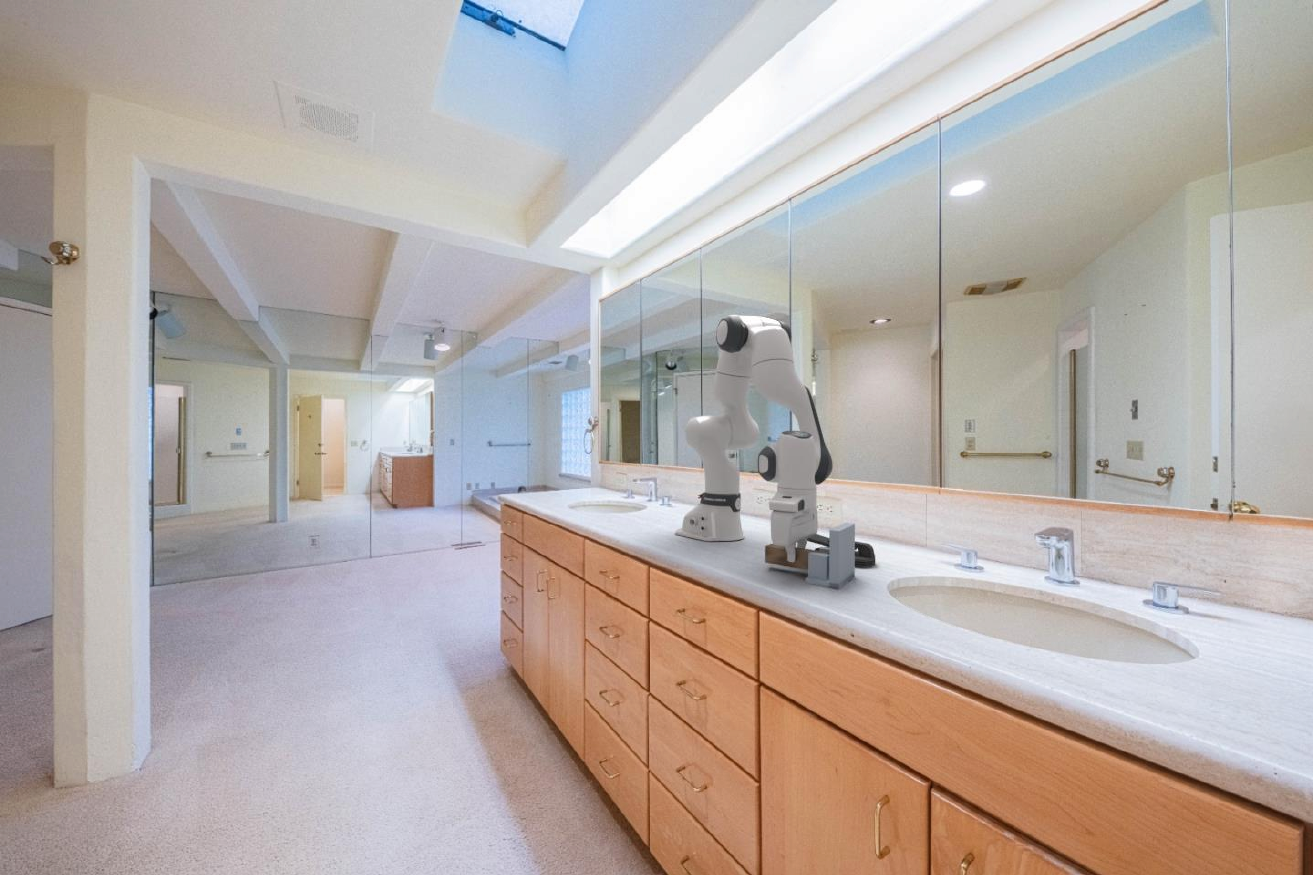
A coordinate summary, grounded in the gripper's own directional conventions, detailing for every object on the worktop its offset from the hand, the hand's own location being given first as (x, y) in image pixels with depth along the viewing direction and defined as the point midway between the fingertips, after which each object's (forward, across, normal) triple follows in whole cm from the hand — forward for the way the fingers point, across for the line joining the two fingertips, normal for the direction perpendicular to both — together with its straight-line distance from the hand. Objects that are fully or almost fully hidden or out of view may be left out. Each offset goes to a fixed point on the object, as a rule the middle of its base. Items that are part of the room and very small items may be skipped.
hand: (796, 559), depth 107 cm
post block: (+3, 0, +8) cm, 9 cm away
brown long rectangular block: (+2, 0, 0) cm, 2 cm away
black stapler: (+4, -20, 0) cm, 20 cm away
